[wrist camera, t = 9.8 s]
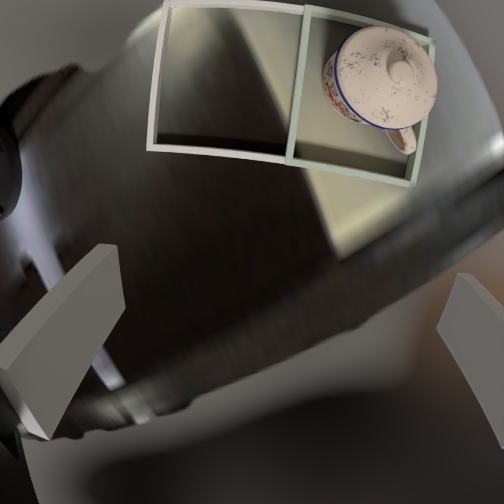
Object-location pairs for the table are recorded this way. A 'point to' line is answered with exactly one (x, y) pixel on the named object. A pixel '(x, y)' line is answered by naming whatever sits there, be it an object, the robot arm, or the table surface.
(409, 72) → the teacup with lid
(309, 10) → the divided tray
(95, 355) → the robot arm
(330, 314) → the table surface
